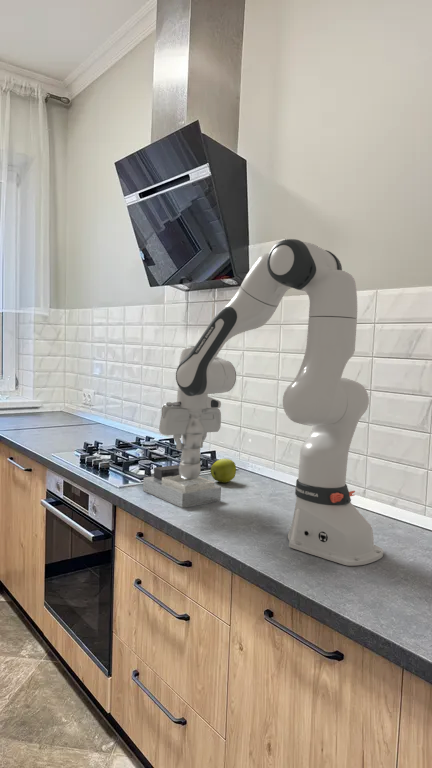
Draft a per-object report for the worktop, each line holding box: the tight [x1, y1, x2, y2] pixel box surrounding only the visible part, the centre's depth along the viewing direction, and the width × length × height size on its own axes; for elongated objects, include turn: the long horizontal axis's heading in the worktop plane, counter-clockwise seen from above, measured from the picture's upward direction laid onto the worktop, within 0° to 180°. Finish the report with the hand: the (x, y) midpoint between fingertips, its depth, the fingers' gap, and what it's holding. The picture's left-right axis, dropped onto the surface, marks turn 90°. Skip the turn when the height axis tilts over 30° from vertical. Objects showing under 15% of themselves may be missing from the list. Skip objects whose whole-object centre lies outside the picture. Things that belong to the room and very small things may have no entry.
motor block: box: [142, 464, 222, 509], centre depth 160 cm, size 23×14×7 cm, turn 40°
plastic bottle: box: [178, 414, 204, 479], centre depth 155 cm, size 6×7×20 cm
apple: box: [209, 458, 238, 484], centre depth 178 cm, size 8×9×8 cm
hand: (189, 448), depth 156 cm, fingers closed on plastic bottle, 6 cm apart
